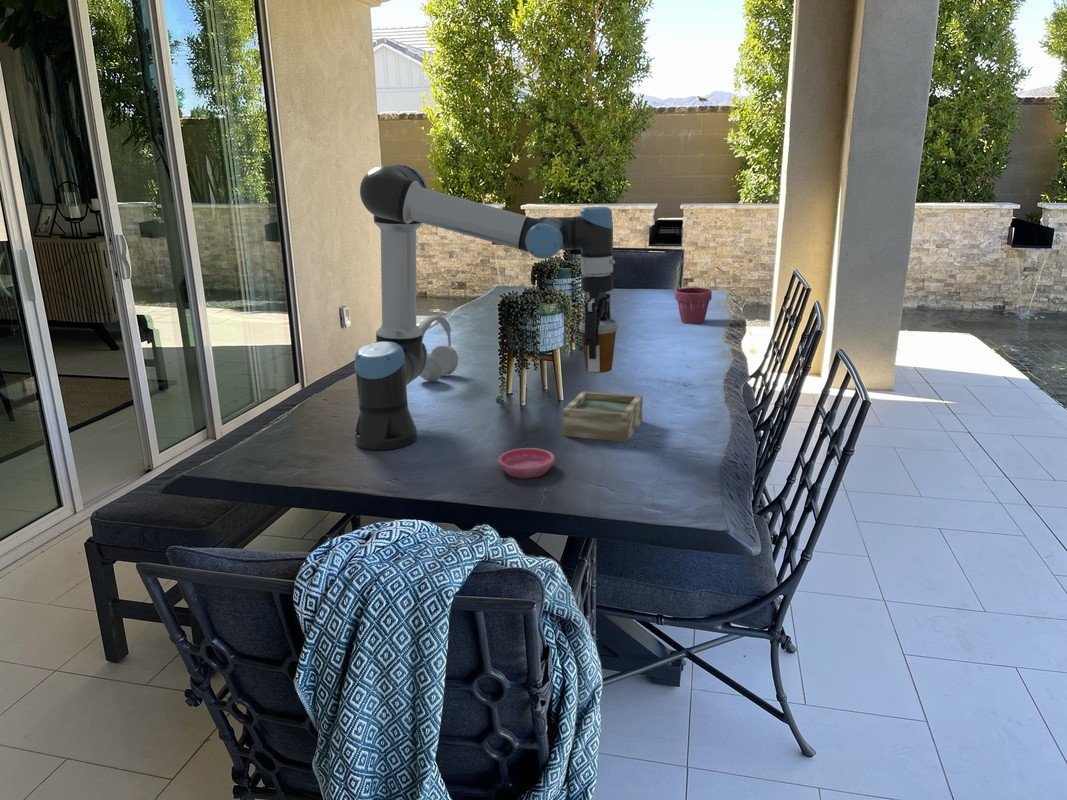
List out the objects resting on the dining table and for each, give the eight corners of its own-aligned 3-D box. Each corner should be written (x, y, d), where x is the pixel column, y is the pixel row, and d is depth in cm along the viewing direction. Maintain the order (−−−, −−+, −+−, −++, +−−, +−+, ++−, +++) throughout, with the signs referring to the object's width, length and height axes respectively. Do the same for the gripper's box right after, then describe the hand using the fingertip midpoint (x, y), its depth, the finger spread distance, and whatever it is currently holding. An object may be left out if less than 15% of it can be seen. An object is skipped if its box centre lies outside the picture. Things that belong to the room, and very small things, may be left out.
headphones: (432, 388, 239) (428, 322, 233) (407, 385, 243) (402, 320, 237) (464, 373, 255) (461, 311, 249) (440, 370, 259) (436, 309, 253)
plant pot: (668, 320, 324) (669, 288, 320) (699, 317, 328) (700, 286, 324) (685, 326, 311) (686, 294, 307) (717, 323, 315) (718, 291, 311)
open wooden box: (627, 442, 191) (627, 415, 189) (563, 435, 196) (563, 409, 194) (642, 421, 205) (642, 395, 203) (582, 415, 211) (582, 391, 209)
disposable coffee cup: (571, 370, 197) (570, 322, 193) (599, 362, 203) (598, 316, 199) (598, 377, 190) (597, 327, 186) (626, 369, 196) (626, 321, 192)
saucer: (487, 474, 175) (486, 460, 174) (519, 456, 185) (519, 443, 184) (534, 486, 168) (534, 472, 167) (565, 466, 178) (565, 453, 177)
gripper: (600, 281, 179) (602, 379, 185) (623, 267, 197) (624, 357, 204) (568, 280, 181) (571, 377, 188) (594, 267, 200) (596, 355, 207)
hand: (598, 366), depth 196 cm, fingers closed on disposable coffee cup, 8 cm apart
